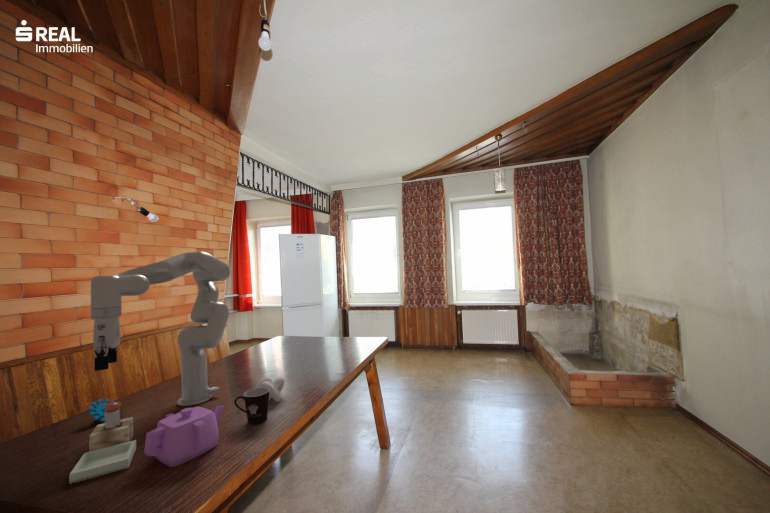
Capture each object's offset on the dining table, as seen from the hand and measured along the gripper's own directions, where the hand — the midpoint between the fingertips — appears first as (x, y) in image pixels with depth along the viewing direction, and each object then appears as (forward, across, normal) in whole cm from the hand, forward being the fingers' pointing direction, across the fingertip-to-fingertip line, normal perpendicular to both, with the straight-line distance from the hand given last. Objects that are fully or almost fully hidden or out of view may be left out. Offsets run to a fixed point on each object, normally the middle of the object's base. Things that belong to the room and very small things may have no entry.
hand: (106, 366), depth 102 cm
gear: (+25, +25, +6) cm, 36 cm away
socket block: (+25, -2, -2) cm, 25 cm away
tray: (+25, -15, -3) cm, 29 cm away
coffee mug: (+25, -10, -43) cm, 51 cm away
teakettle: (+25, -19, -23) cm, 39 cm away
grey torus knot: (+25, +6, -52) cm, 58 cm away
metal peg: (+25, -2, -2) cm, 25 cm away
